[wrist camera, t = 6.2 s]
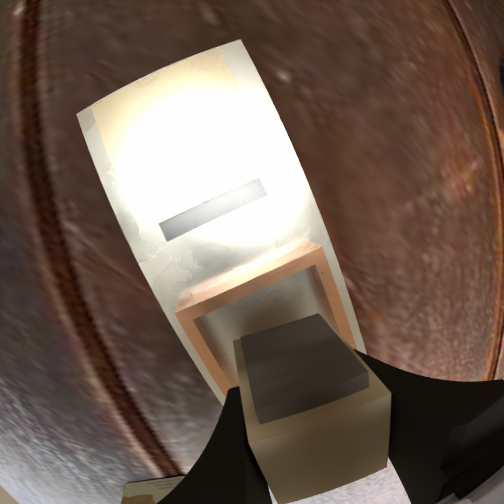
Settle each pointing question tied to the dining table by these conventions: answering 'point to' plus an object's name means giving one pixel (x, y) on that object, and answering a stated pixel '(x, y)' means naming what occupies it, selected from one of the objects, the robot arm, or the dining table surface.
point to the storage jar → (501, 72)
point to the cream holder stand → (216, 207)
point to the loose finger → (311, 408)
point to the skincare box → (149, 490)
